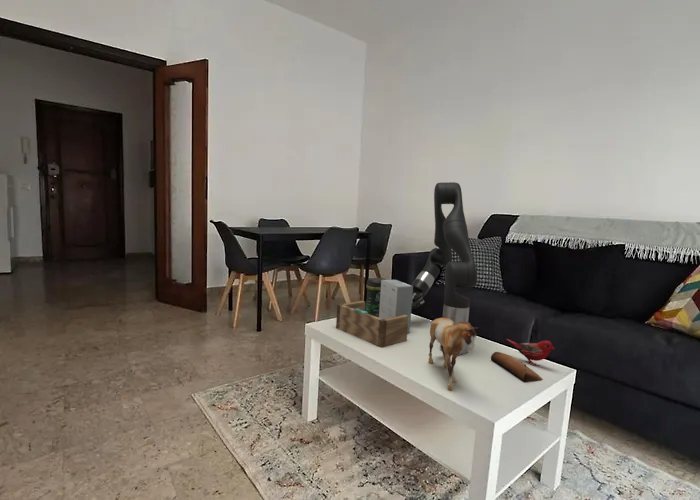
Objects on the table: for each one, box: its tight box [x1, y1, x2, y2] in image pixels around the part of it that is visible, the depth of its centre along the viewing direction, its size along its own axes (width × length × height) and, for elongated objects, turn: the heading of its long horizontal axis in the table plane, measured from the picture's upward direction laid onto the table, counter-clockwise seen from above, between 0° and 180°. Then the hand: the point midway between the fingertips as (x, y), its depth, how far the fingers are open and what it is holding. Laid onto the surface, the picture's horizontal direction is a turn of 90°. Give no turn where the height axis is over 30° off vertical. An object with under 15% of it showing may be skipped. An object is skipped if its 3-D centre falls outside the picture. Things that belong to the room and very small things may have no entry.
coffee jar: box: [365, 277, 387, 317], centre depth 188 cm, size 10×8×19 cm
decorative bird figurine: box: [505, 338, 555, 367], centre depth 142 cm, size 3×18×10 cm, turn 39°
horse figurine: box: [428, 317, 479, 391], centre depth 127 cm, size 31×8×21 cm, turn 2°
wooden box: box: [335, 300, 408, 348], centre depth 163 cm, size 27×14×11 cm, turn 40°
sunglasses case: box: [490, 351, 544, 383], centre depth 135 cm, size 18×7×7 cm, turn 14°
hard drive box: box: [379, 279, 413, 334], centre depth 172 cm, size 16×8×20 cm, turn 22°
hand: (402, 313), depth 175 cm, fingers closed
